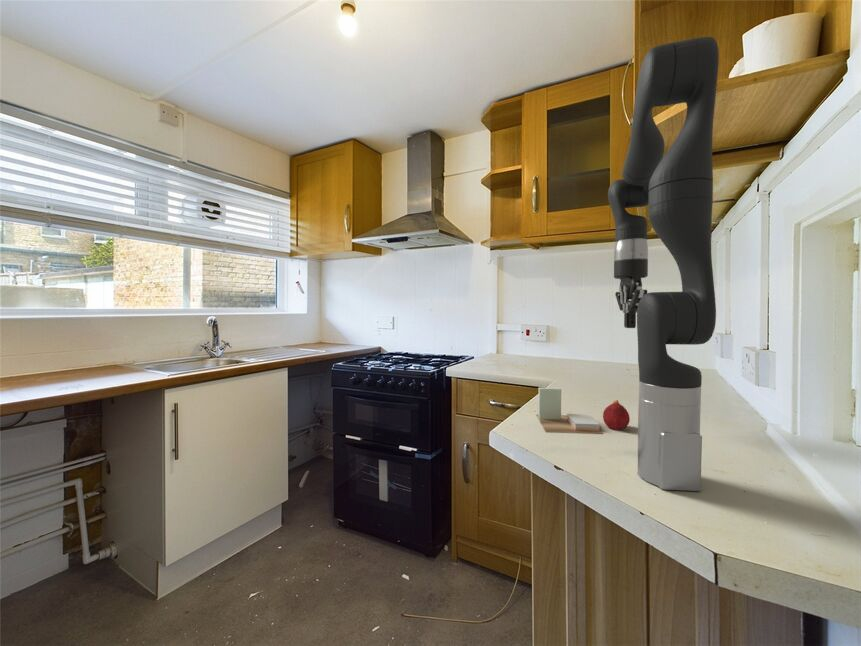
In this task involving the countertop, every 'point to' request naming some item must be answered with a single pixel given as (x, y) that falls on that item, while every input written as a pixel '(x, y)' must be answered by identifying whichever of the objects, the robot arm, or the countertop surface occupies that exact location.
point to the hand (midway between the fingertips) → (629, 327)
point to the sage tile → (549, 403)
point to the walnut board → (562, 426)
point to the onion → (616, 416)
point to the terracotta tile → (583, 422)
